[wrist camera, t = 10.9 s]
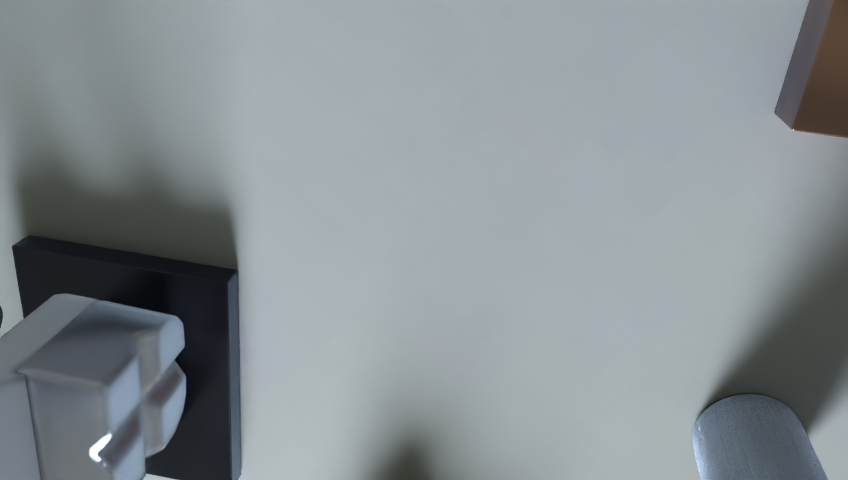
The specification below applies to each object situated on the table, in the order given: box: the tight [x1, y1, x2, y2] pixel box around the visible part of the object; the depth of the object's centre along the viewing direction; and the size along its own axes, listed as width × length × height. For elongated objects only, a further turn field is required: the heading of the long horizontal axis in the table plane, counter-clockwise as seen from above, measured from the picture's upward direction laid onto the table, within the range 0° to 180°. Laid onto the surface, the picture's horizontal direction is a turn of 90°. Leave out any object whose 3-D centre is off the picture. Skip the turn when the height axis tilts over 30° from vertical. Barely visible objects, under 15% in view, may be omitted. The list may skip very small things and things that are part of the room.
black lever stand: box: [12, 235, 241, 480], centre depth 30 cm, size 12×10×13 cm
